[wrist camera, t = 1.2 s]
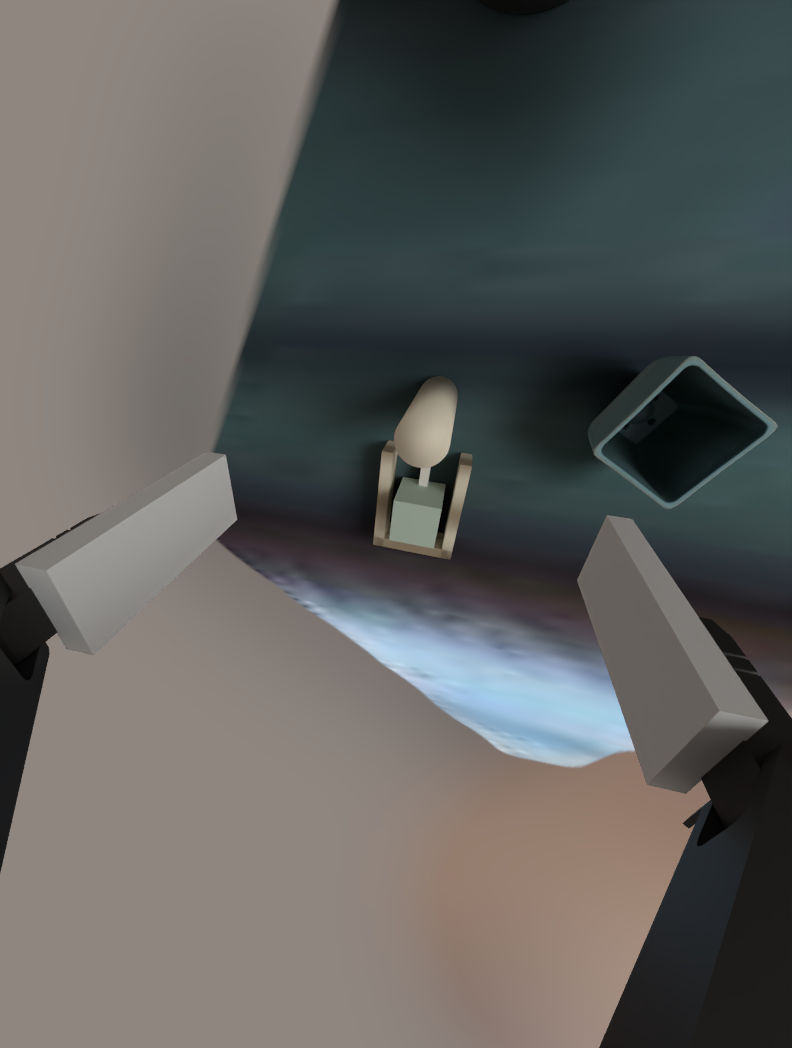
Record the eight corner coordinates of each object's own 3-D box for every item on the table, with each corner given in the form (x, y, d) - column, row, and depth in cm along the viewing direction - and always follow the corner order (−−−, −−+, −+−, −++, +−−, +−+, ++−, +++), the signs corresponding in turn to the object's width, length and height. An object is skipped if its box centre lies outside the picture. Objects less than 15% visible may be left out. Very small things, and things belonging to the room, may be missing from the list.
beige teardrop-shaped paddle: (416, 372, 37) (390, 407, 25) (466, 380, 37) (462, 418, 25) (398, 513, 46) (372, 587, 34) (438, 520, 45) (425, 598, 34)
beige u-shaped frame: (388, 440, 42) (381, 451, 39) (472, 454, 41) (472, 466, 38) (379, 529, 48) (373, 544, 45) (451, 543, 47) (450, 559, 44)
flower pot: (566, 421, 37) (590, 453, 30) (643, 340, 33) (694, 352, 25) (631, 470, 39) (669, 512, 31) (713, 398, 34) (781, 427, 26)
